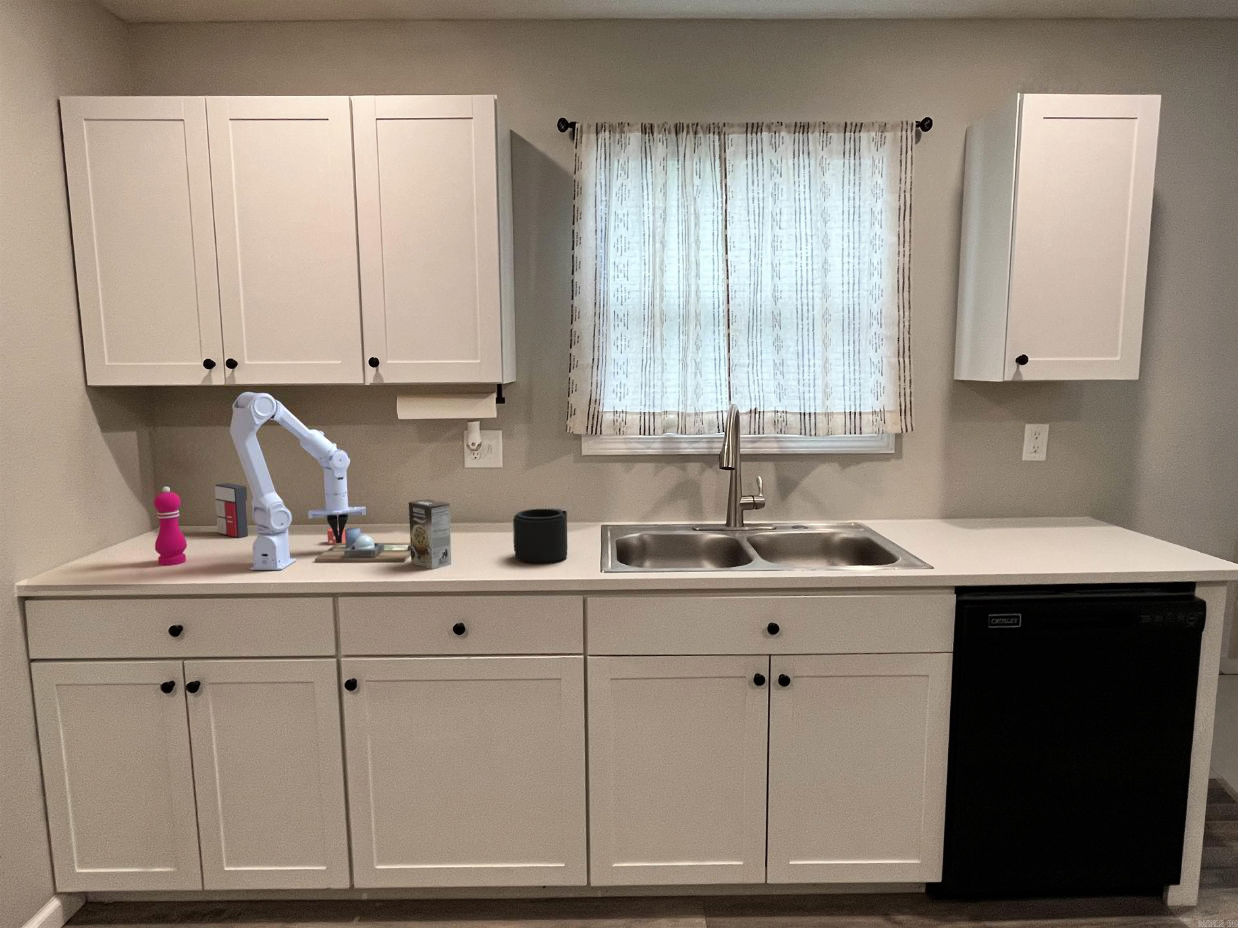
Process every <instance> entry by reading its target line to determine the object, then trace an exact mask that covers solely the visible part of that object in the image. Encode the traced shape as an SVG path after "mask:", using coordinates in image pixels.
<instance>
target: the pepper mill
mask: <svg viewBox="0 0 1238 928" xmlns="http://www.w3.org/2000/svg"><path fill="white" fill-rule="evenodd" d="M161 491H162V493H159V494H157V495H156V496H155V498H154V499H153V506H154V508H155V509H156V510H157V512H156V515H157V516H156V517H157V518H158V519H159V532H158V534H157V537H156V540H155V542H154V543H155V544H154V551H156V553H157V554H158V555H159V556H158V557H157V561H158V565H160V566H176V565H180V564H183V563H185V562H186V561H187V558H186V557H187V556H186V555H187V554H186V553H184V552H185V550H186V549H187V547H188V544H187V540H186V537H185V535H184V534H183V532H182V530H181V529H180V526H179V522H178V521H179V516H180V511H179V507H180V506H181V498H180V496H179V495H178V494H177V493H176V492H171V488H170V487H169V486H163V487H162V489H161Z"/></svg>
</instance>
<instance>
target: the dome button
mask: <svg viewBox="0 0 1238 928" xmlns="http://www.w3.org/2000/svg"><path fill="white" fill-rule="evenodd" d="M374 543H375V540H374V539H373V538H372V537H371V536H370V535H368V534H367V535H361V536H360V537H358V538H357V539H356V541H355V544H354V546H355V549H373V548H374Z"/></svg>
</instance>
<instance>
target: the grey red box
mask: <svg viewBox="0 0 1238 928" xmlns="http://www.w3.org/2000/svg"><path fill="white" fill-rule="evenodd" d="M214 494H215V500H214V501H215V515H216V516H217V517H216V527H217V533H218V534H220V535H224V536H227V537H228V536H229V537H233V538H237V539H240V538H245V537H248V536H249V532H248V531H249V530H248V515H247V505H246V502H247V500H248V491H247V486H246V485H241V484H234V483H229V482H225V483H218V484H215V486H214Z"/></svg>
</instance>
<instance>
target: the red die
mask: <svg viewBox="0 0 1238 928" xmlns="http://www.w3.org/2000/svg"><path fill="white" fill-rule="evenodd" d="M345 529H347V527H344V530H343V534H342V543H346V542H345ZM326 532H327V534H326V535H327V545H328V546H329V545H330V546H334V545H336V544H337V543H336V539H335V536H334V533H333V531H332V528H331V527H330V529H328V530H327V531H326ZM338 534H339V527H338Z"/></svg>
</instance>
